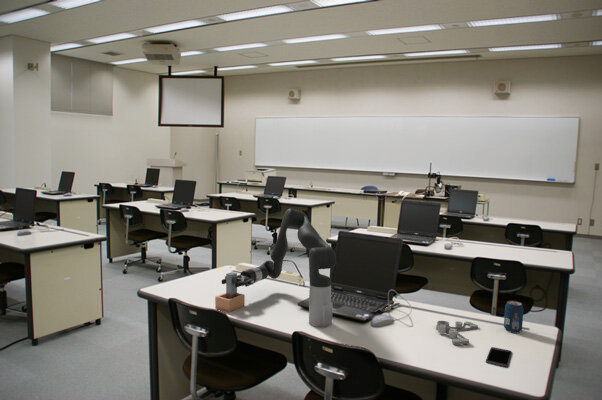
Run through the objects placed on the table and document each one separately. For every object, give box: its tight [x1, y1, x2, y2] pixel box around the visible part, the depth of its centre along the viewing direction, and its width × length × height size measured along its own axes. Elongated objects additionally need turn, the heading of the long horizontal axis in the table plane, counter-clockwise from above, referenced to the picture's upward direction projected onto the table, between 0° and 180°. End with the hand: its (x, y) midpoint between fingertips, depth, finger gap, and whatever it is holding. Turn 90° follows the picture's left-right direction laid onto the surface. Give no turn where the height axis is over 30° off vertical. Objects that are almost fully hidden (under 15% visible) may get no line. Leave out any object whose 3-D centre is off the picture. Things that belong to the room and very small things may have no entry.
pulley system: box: [435, 320, 479, 346], centre depth 179 cm, size 27×5×15 cm
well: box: [214, 292, 246, 313], centre depth 204 cm, size 9×10×6 cm
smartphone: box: [485, 346, 513, 369], centre depth 157 cm, size 7×15×1 cm, turn 149°
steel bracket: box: [225, 271, 238, 299], centre depth 204 cm, size 4×6×15 cm
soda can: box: [503, 300, 524, 334], centre depth 181 cm, size 7×7×12 cm
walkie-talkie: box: [383, 302, 400, 312], centre depth 207 cm, size 9×4×20 cm
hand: (228, 283), depth 203 cm, fingers open, 8 cm apart
